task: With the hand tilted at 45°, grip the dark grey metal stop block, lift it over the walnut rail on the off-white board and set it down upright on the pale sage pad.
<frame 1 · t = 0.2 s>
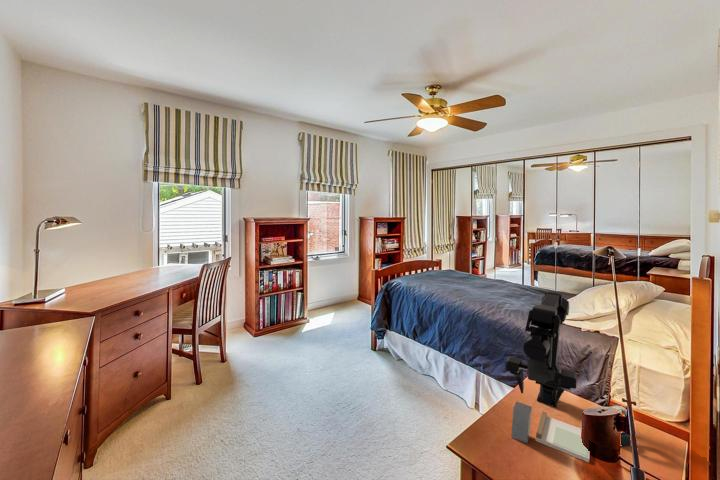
hand: (538, 398, 96), 15 cm above the nightstand, tool pointing down, fingers open, 9 cm apart
door panel: (563, 438, 100), on the nightstand
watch: (615, 440, 100), on the nightstand
stop block: (520, 436, 100), on the nightstand
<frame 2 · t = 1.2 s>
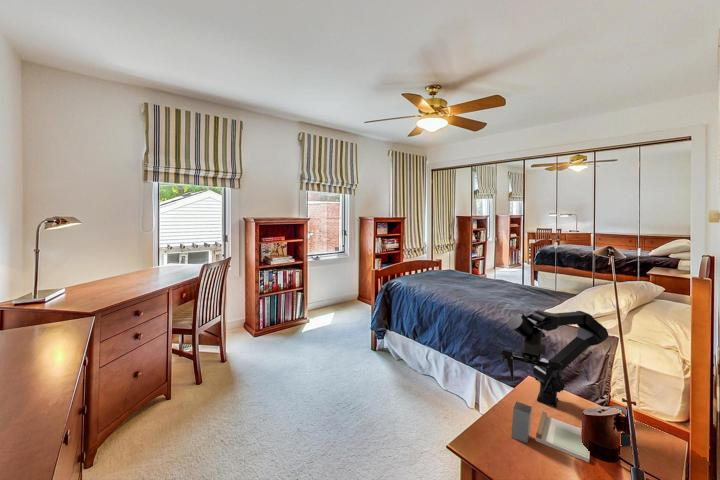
hand: (527, 386, 105), 13 cm above the nightstand, tool tilted 45°, fingers open, 9 cm apart
nothing on the nightstand moved.
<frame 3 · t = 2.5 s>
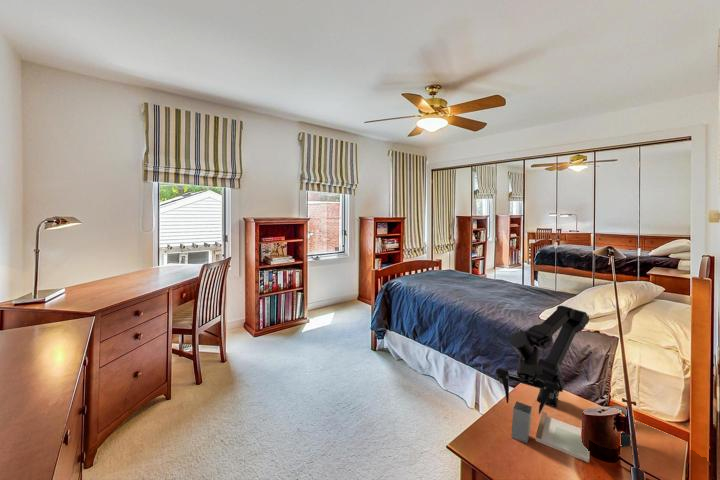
hand: (523, 408, 100), 9 cm above the nightstand, tool tilted 45°, fingers open, 9 cm apart
nothing on the nightstand moved.
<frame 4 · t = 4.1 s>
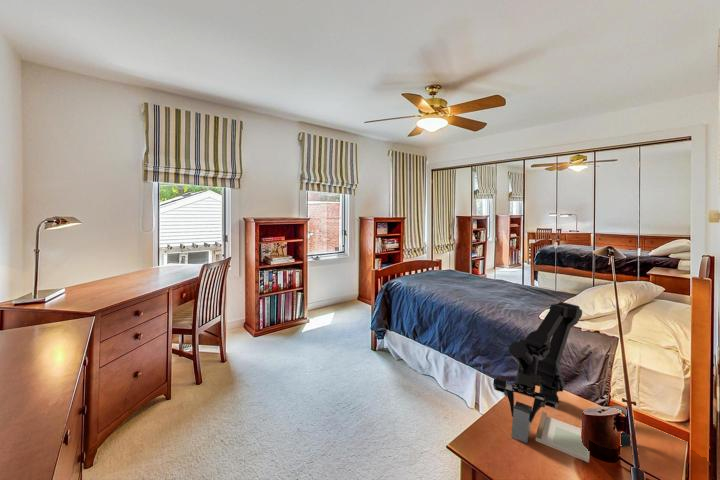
hand: (521, 419, 98), 7 cm above the nightstand, tool tilted 45°, fingers closed on stop block, 5 cm apart
stop block: (520, 436, 100), on the nightstand, touching gripper
everything else where it was.
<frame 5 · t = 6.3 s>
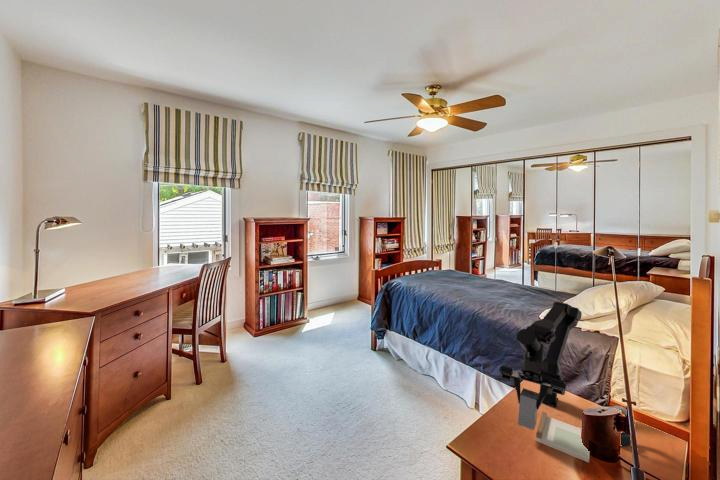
hand: (528, 406, 98), 11 cm above the nightstand, tool tilted 45°, fingers closed on stop block, 5 cm apart
stop block: (527, 423, 99), point 5 cm above the nightstand, touching gripper
everything else where it was.
when the fingers open (8 cm above the nightstand, at t = 8.7 s): stop block stays where it is, resting on door panel.
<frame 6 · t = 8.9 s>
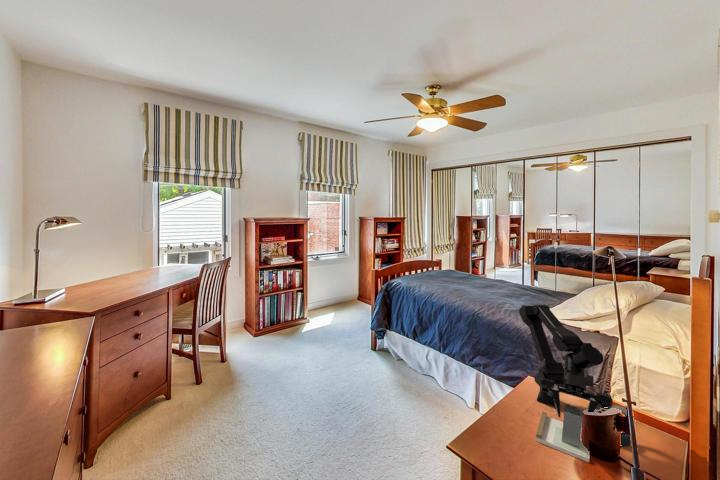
hand: (572, 421, 95), 9 cm above the nightstand, tool tilted 45°, fingers open, 7 cm apart
stop block: (570, 440, 97), point 1 cm above the nightstand, touching door panel
everything else where it was.
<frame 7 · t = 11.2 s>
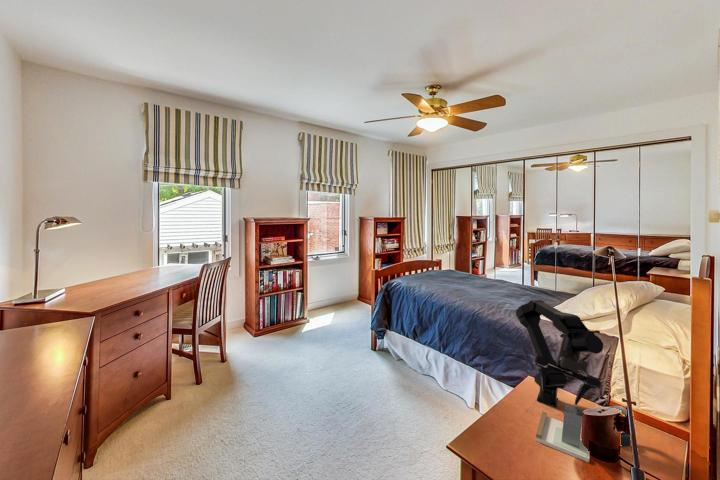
hand: (559, 397, 102), 12 cm above the nightstand, tool tilted 35°, fingers open, 9 cm apart
nothing on the nightstand moved.
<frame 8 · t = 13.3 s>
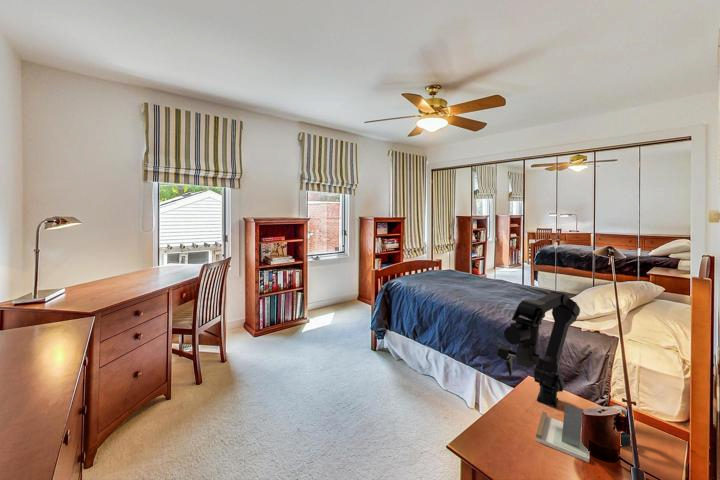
hand: (525, 380, 109), 13 cm above the nightstand, tool pointing down, fingers open, 9 cm apart
nothing on the nightstand moved.
at the end: stop block inside the target area on the door panel (0.0 cm from its centre), point 1.4 cm above the door panel's base; stop block tilted 0°; the gripper is holding nothing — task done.
